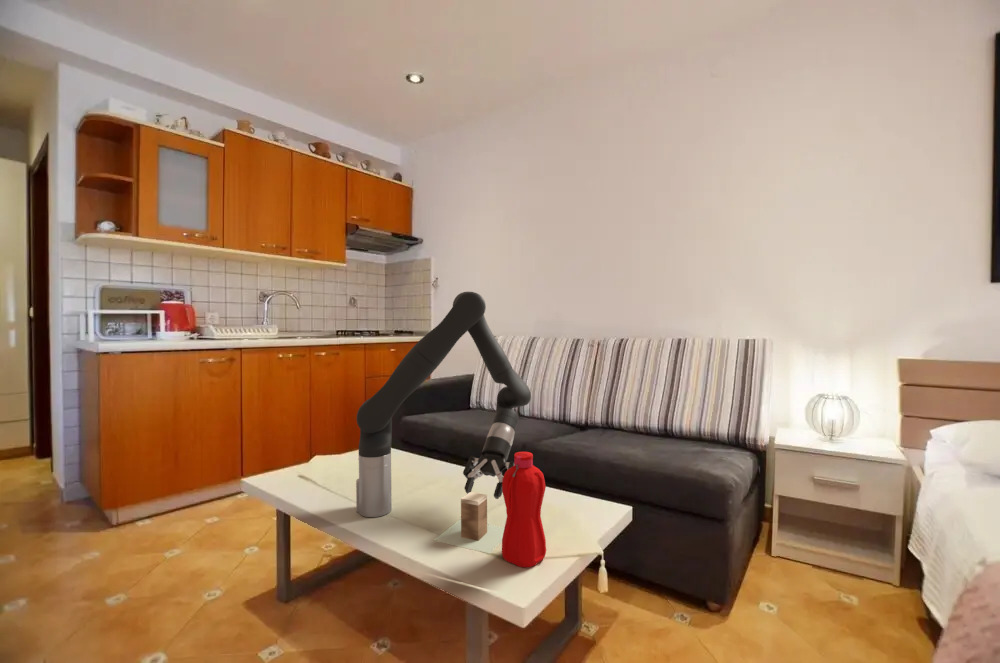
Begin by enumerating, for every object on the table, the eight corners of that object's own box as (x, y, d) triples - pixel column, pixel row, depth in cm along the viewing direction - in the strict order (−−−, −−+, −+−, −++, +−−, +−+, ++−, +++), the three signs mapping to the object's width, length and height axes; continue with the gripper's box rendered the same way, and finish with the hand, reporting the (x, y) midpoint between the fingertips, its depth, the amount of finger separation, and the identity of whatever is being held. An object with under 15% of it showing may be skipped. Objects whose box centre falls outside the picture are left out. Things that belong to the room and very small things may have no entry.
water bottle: (491, 563, 106) (490, 455, 105) (520, 544, 114) (519, 445, 114) (523, 577, 100) (523, 463, 99) (551, 556, 108) (551, 452, 108)
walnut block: (461, 536, 118) (460, 498, 117) (470, 528, 122) (470, 491, 122) (478, 540, 115) (478, 501, 115) (487, 532, 120) (487, 494, 120)
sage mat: (433, 542, 116) (433, 540, 116) (460, 520, 128) (460, 518, 128) (490, 555, 109) (490, 553, 109) (513, 530, 122) (513, 529, 122)
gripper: (472, 432, 133) (453, 484, 123) (518, 437, 127) (501, 492, 117) (481, 446, 138) (463, 497, 128) (525, 451, 132) (509, 505, 122)
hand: (481, 495), depth 122 cm, fingers open, 8 cm apart
